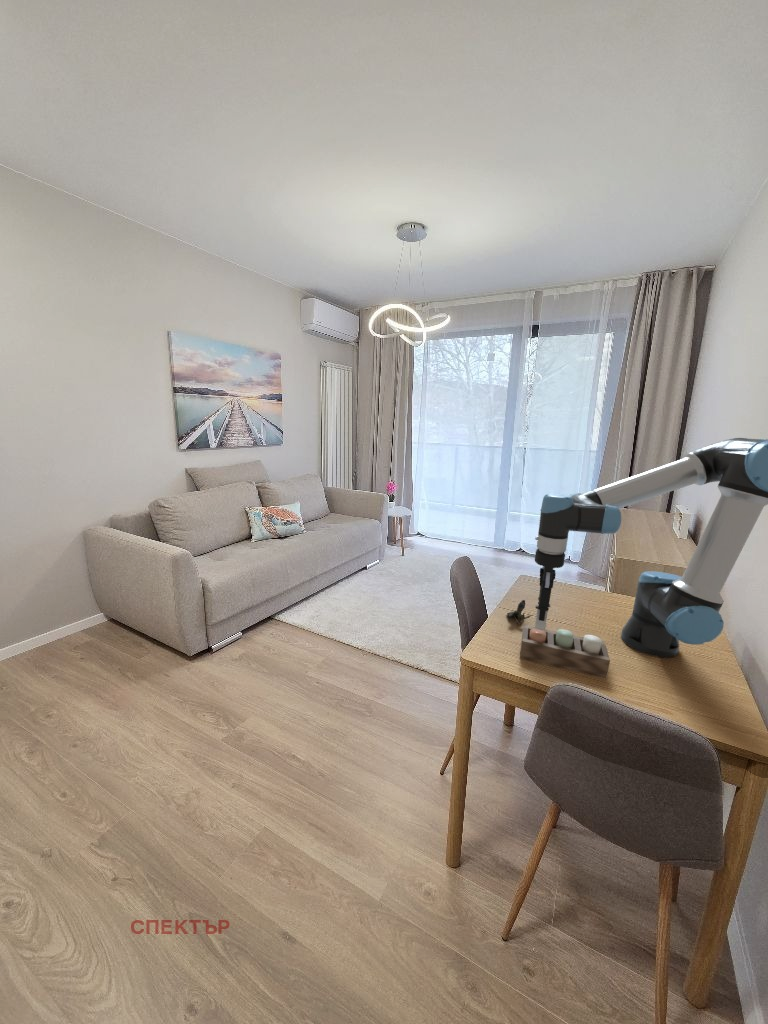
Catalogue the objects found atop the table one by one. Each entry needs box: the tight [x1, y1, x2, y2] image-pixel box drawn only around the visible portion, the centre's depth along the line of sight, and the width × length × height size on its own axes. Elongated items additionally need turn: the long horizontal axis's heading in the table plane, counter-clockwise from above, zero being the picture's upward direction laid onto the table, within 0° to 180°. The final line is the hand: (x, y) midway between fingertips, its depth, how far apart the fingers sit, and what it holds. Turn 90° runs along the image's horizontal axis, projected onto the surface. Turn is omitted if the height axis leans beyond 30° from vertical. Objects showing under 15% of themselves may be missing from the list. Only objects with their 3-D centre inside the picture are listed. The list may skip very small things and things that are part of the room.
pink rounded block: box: [529, 629, 546, 643], centre depth 119 cm, size 4×4×5 cm
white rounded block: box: [582, 634, 603, 655], centre depth 114 cm, size 4×4×5 cm
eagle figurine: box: [506, 599, 532, 626], centre depth 139 cm, size 8×7×9 cm
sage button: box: [555, 628, 575, 649], centre depth 116 cm, size 4×4×5 cm
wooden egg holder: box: [519, 624, 611, 680], centre depth 117 cm, size 22×10×6 cm, turn 69°
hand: (539, 628), depth 118 cm, fingers closed
